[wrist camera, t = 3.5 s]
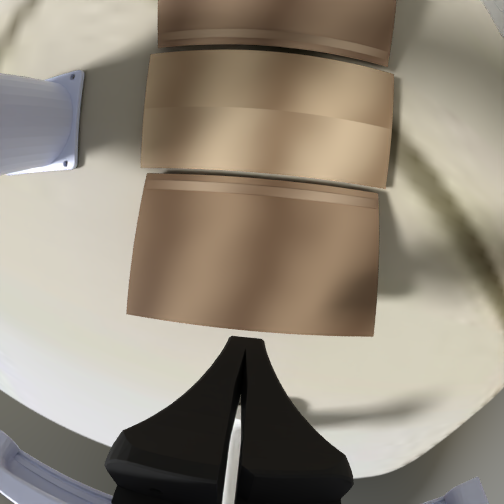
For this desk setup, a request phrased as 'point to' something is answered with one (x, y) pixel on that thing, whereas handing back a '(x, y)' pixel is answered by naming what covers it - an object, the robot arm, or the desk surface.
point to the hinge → (496, 13)
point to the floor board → (268, 115)
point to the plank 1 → (283, 25)
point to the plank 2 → (256, 255)
